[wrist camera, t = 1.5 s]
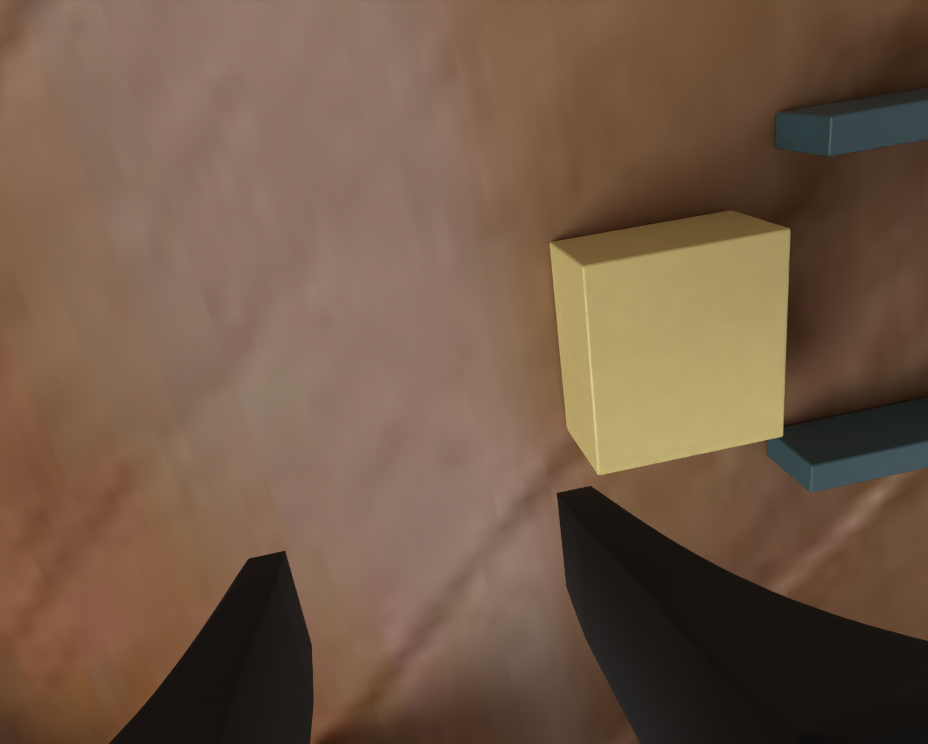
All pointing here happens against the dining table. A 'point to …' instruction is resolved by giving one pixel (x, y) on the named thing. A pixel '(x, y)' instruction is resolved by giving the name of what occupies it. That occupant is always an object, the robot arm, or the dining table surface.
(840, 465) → the bay
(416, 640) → the dining table surface
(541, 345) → the dining table surface
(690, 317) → the block
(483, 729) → the dining table surface
